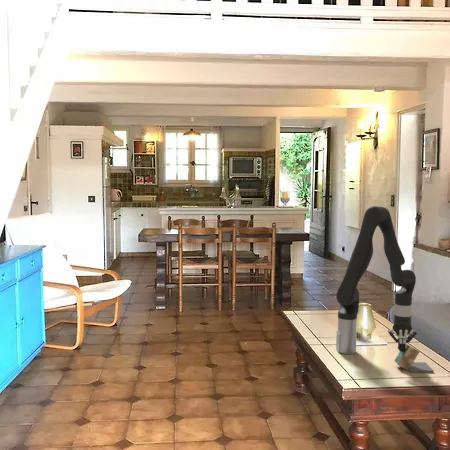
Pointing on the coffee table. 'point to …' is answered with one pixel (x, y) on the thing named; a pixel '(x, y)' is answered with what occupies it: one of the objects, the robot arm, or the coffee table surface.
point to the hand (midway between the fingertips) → (401, 351)
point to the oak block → (407, 357)
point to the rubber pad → (420, 368)
